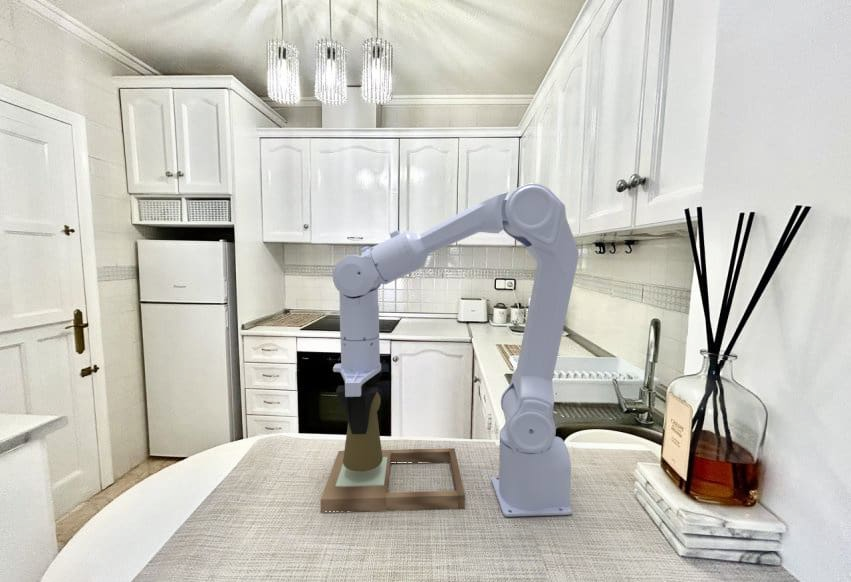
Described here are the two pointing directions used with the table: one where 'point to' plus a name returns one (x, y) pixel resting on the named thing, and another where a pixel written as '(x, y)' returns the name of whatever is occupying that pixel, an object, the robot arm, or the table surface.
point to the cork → (364, 444)
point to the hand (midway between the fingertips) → (362, 423)
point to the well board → (372, 486)
